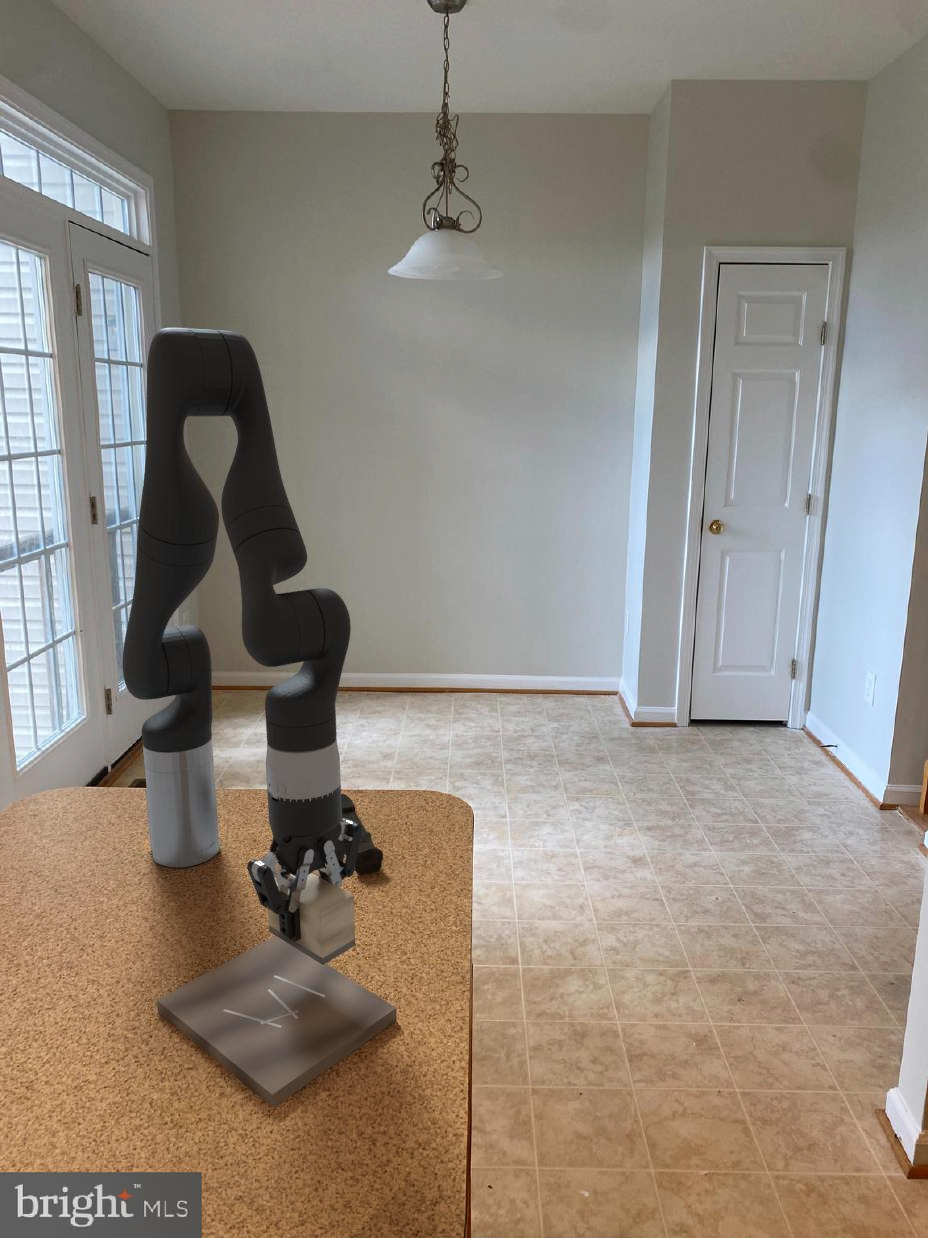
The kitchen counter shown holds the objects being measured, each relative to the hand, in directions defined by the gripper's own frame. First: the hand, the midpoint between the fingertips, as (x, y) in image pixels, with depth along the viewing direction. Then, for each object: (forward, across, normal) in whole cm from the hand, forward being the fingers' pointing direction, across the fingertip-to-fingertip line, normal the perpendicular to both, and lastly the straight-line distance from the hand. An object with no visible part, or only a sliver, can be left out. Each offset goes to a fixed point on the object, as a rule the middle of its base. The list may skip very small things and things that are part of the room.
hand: (310, 927), depth 97 cm
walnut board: (+8, +5, 0) cm, 10 cm away
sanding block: (+1, 0, 0) cm, 1 cm away
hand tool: (+9, -25, -22) cm, 35 cm away
